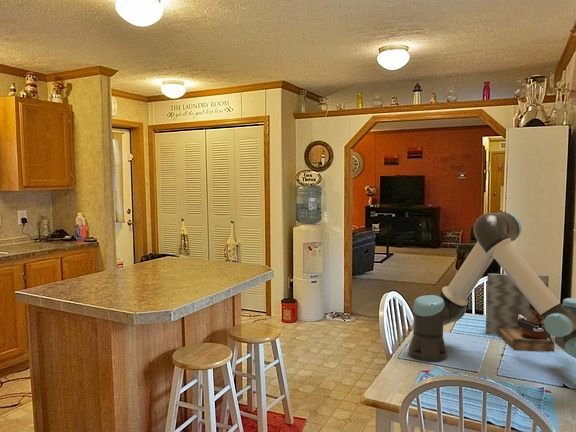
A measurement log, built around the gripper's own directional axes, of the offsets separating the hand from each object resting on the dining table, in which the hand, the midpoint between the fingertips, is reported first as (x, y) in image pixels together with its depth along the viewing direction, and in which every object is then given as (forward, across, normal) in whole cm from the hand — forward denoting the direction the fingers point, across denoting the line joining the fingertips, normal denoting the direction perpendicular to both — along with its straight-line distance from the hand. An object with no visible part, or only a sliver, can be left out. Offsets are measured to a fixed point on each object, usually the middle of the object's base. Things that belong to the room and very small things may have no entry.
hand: (536, 318), depth 193 cm
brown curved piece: (+10, +4, -11) cm, 16 cm away
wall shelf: (+11, 0, -14) cm, 18 cm away
